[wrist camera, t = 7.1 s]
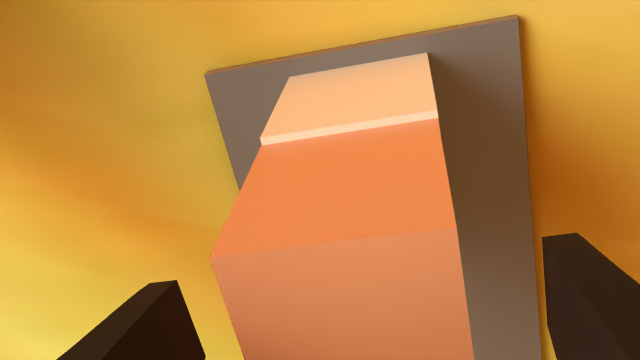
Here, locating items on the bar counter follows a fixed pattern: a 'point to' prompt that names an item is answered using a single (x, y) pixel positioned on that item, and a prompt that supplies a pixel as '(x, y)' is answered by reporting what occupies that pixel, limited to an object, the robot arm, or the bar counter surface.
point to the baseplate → (459, 151)
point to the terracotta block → (346, 250)
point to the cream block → (353, 99)
